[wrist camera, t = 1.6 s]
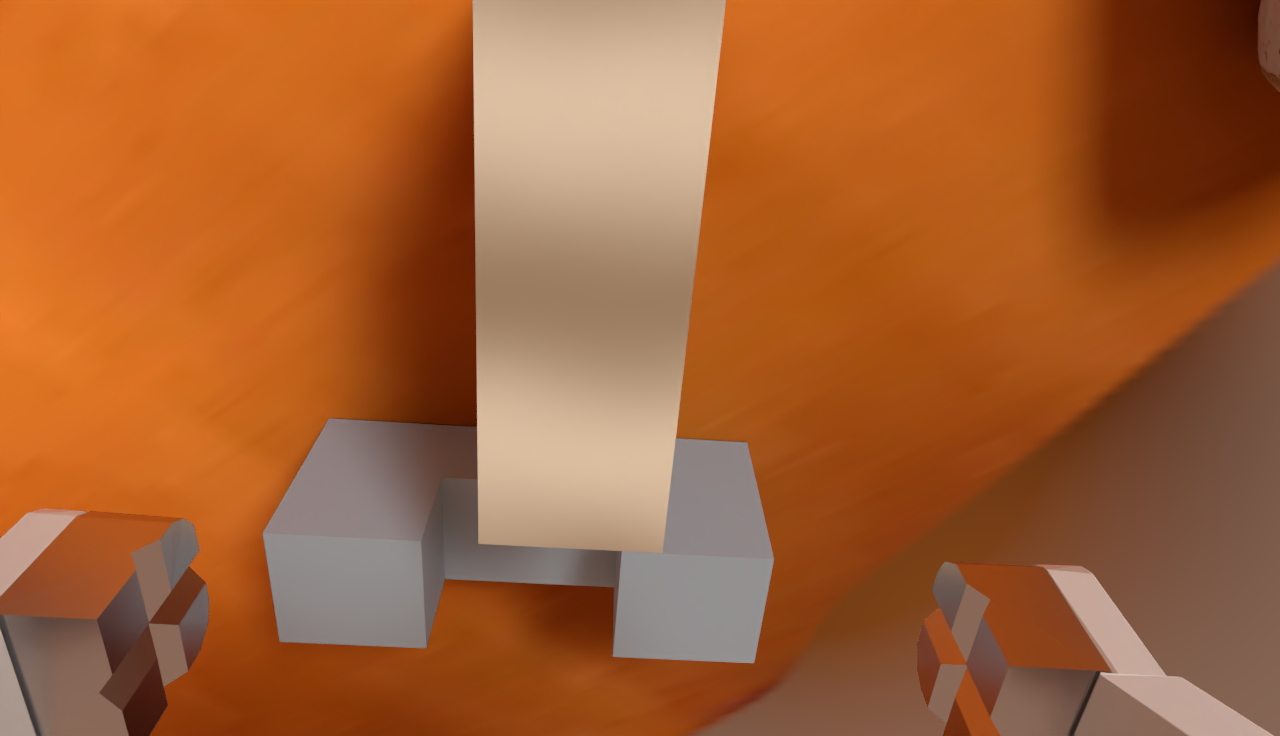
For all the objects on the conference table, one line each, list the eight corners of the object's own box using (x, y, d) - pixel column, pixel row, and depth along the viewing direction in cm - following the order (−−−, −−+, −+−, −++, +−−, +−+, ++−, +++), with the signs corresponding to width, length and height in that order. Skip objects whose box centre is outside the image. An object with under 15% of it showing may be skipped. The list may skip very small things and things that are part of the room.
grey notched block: (339, 515, 31) (279, 641, 25) (329, 418, 29) (262, 533, 24) (732, 535, 31) (754, 663, 26) (747, 442, 30) (774, 559, 24)
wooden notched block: (650, 348, 28) (662, 552, 19) (524, 340, 28) (478, 543, 19) (689, -70, 22) (732, -56, 13) (532, -83, 22) (471, -79, 13)
